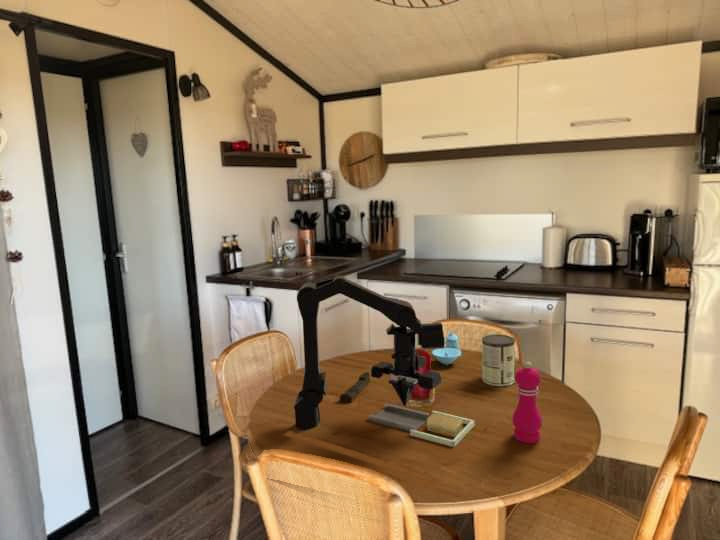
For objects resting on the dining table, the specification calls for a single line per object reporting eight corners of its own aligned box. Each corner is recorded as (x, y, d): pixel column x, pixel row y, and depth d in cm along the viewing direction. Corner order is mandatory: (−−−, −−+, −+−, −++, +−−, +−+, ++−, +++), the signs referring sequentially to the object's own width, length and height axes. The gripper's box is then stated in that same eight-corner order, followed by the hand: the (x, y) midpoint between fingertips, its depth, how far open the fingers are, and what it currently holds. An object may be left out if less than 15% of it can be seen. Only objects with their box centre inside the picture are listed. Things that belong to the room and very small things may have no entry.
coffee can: (487, 372, 175) (487, 332, 173) (518, 377, 170) (518, 336, 167) (477, 383, 167) (477, 341, 164) (509, 388, 161) (509, 345, 159)
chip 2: (455, 440, 130) (455, 426, 129) (441, 437, 132) (441, 422, 131) (462, 434, 133) (462, 419, 132) (447, 430, 135) (447, 416, 135)
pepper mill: (538, 447, 126) (539, 369, 123) (508, 440, 130) (509, 364, 126) (544, 434, 132) (546, 359, 129) (516, 428, 136) (517, 355, 132)
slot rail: (413, 436, 133) (413, 428, 133) (368, 424, 141) (367, 416, 141) (430, 421, 141) (430, 413, 141) (386, 410, 149) (386, 402, 149)
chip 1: (441, 436, 132) (441, 422, 131) (427, 433, 134) (427, 418, 134) (447, 430, 135) (447, 416, 135) (434, 427, 138) (433, 412, 137)
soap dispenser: (457, 370, 178) (457, 345, 177) (428, 367, 182) (427, 343, 181) (467, 354, 195) (467, 331, 193) (440, 351, 199) (440, 329, 197)
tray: (454, 451, 125) (453, 441, 125) (410, 439, 132) (410, 430, 132) (474, 429, 136) (474, 420, 136) (433, 419, 143) (433, 410, 142)
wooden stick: (351, 408, 152) (350, 393, 152) (339, 405, 154) (338, 391, 153) (377, 384, 169) (376, 371, 168) (366, 383, 171) (365, 369, 170)
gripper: (449, 346, 138) (450, 401, 140) (390, 336, 148) (391, 387, 151) (431, 358, 129) (431, 417, 131) (368, 347, 139) (370, 401, 142)
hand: (405, 404), depth 139 cm, fingers closed
